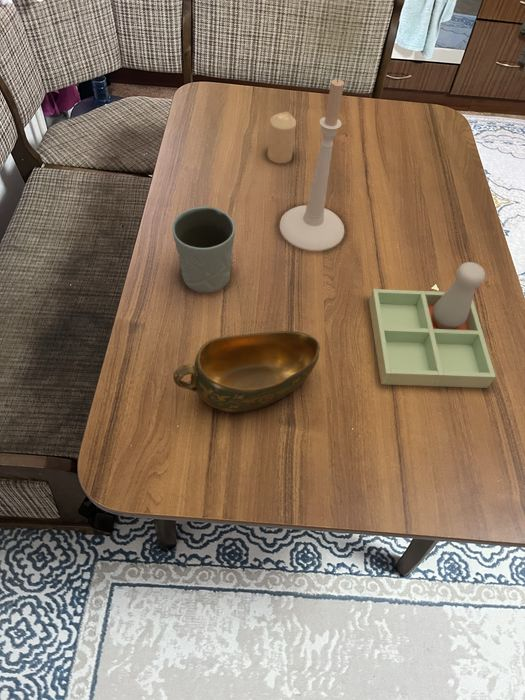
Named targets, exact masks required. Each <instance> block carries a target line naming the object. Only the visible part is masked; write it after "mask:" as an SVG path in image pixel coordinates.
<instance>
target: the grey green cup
mask: <svg viewBox="0 0 525 700" xmlns="http://www.w3.org/2000/svg"><path fill="white" fill-rule="evenodd" d="M171 231H172V236H173V240H174V243H175V247H176V251H177V255H178V263H179V264H180V269H181V270H180V271H181V275H182V276H181V277H182V280H183V282H184V284H185V285H186V286H187V287H188V288H189V289H191V290H192V291H195V292H197V293H200V294H201V293H203V294H209V293H215V292H218V291H220V290H222V289H223V288H225V287H226V286H227V285H228V283H229V282H230V278H231V268H232V258H233V257H232V256H233V250H234V247H233V246H234V240H235V233H236V232H235V231H236V223H235V221H234V219H233V218H232V217H231V216H230V215H229V214H228V213H227V212H226V211H225V210H222V209H220V208H217V207H213V206H206V205H205V206H196V207H192V208H189V209H186V210H183V212H181V213H180V214H178V215H177V216H176V217H175V218H174V221H173V222H172V227H171Z"/></svg>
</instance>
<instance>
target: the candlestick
mask: <svg viewBox="0 0 525 700" xmlns="http://www.w3.org/2000/svg"><path fill="white" fill-rule="evenodd" d="M344 87H345V82H344V80H342V79H341V78H340V79H339V78H334V79H332V80H331V82H330V87H329V93H328V99H327V105H326V110H325V116H323V117H321V118H320V119H319V124H320V126H322V127H321V129H320V132H321V134H322V140H321V141H320V147H319V150H318V155H317V160H316V164H315V168H314V172H313V177H312V182H311V186H310V190H309V195H308V200H307V204H305V205H303V204H302V205H298V206H295V207H292V208H290V209H289V210H287V211H286V212H285V213H284V214H283V215H282V216H281V218H280V220H279V232H280V234H281V235H282V237H283V238H284V240H285V241H286V242H288V243H289V244H290V245H291V246H293V247H295V248H298V249H300V250H304V251H308V252H309V251H310V252H322V251H327V250H330V249H333V248H335V247H336V246H337V245H338V244H340V243H341V241H342V240H343V238H344V235H345V226H344V223H343V221H342V220H341V218H340V217H339V216H338V215H337V214H336V213H335V212H333V211H331V210H330V209H328V208H325V207H326V199H327V198H326V197H327V191H328V184H329V175H330V167H331V161H332V151H333V147H334V142H333V140H334V137H335V136H337V134H338V129H340V128H341V126H342V121H341V120H340V119H339V113H340V108H341V103H342V97H343V93H344Z"/></svg>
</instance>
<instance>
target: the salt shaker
mask: <svg viewBox="0 0 525 700" xmlns="http://www.w3.org/2000/svg"><path fill="white" fill-rule="evenodd" d="M486 274H487V273H486V271H485V269H484V268H483V267H482V266H481V265H480V264H478V263H476V262H471V261H467V262H463V263H461V265H459V267H458V268H457V269H456V271H455V276H454V277H455V280H454V281H453V283H452V284H451V285H450V286H449V288H447V290H446V291H444V292H445V293H444V294H443V296H442V297H441V298H440V299H439V300H438V301H437V302H436V304H435V305H434V308H433V320H434V322H435V323H436V325H437V326H438V328H441V329H449V330H452V329H454V328H456V327H459V326H461V325H462V324H463V323H464V322H465V321H466V320H467V318H468V314H469V311H470V307H471V304H472V300H473V301H474V296H475V292H476V290H477V288H479V287H480V286H481V285H482V284H484V282H485V280H486Z"/></svg>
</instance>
